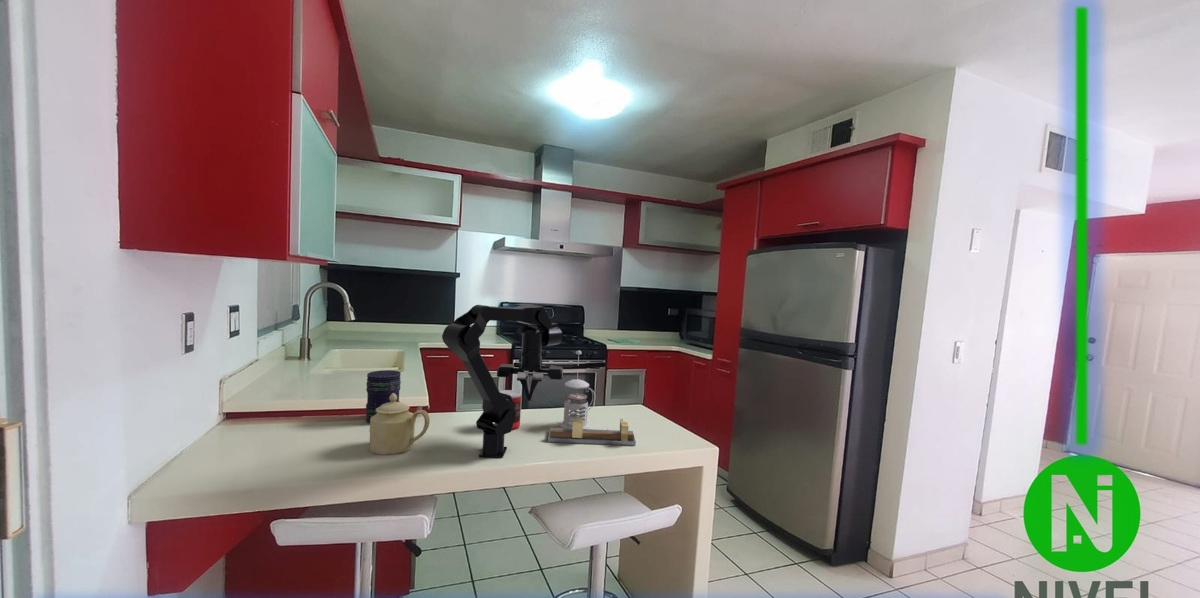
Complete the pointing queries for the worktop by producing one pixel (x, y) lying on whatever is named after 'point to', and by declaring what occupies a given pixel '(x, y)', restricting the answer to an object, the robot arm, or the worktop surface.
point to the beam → (599, 433)
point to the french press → (575, 406)
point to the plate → (590, 440)
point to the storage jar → (381, 390)
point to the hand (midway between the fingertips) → (529, 400)
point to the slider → (577, 428)
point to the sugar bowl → (394, 428)
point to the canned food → (517, 401)
